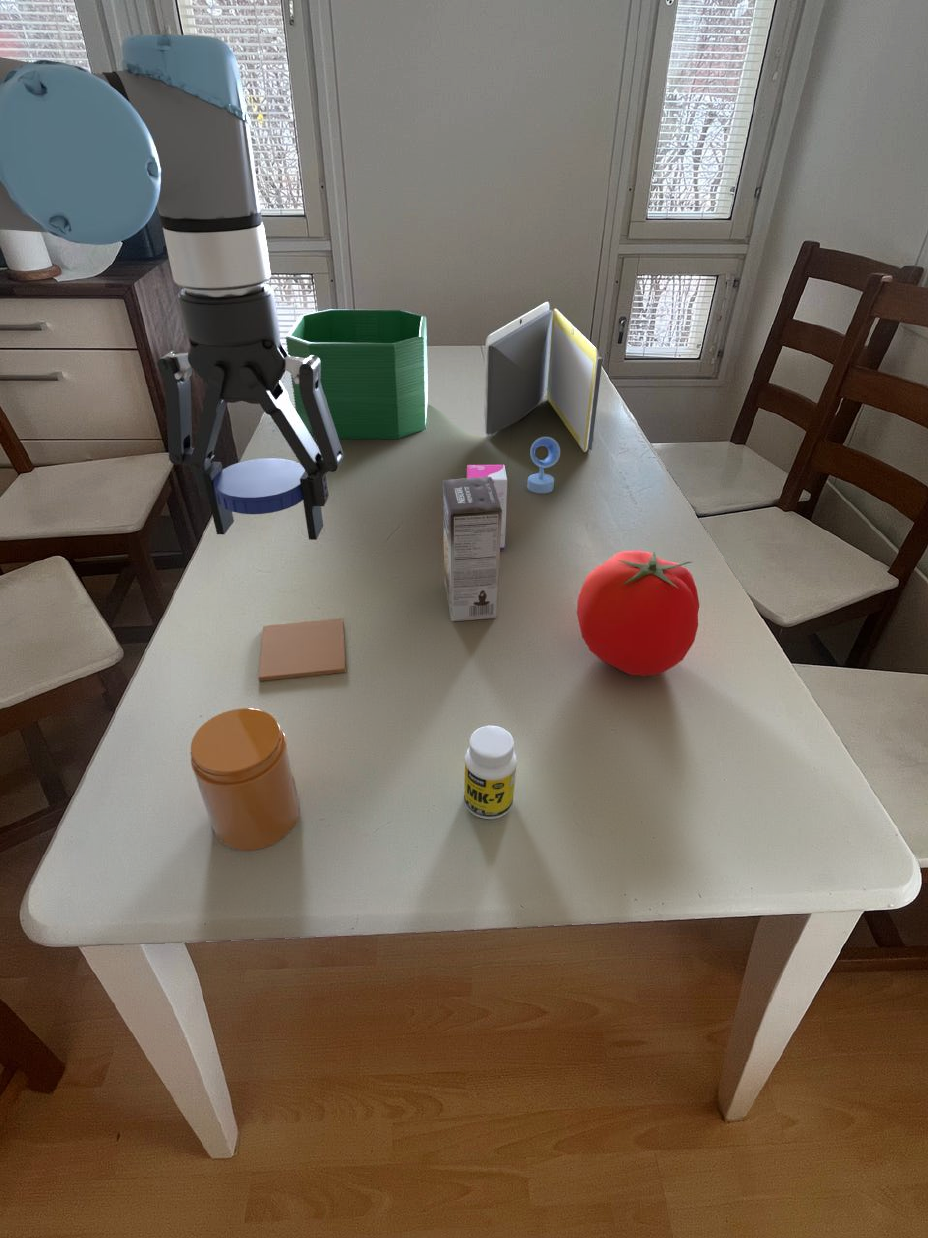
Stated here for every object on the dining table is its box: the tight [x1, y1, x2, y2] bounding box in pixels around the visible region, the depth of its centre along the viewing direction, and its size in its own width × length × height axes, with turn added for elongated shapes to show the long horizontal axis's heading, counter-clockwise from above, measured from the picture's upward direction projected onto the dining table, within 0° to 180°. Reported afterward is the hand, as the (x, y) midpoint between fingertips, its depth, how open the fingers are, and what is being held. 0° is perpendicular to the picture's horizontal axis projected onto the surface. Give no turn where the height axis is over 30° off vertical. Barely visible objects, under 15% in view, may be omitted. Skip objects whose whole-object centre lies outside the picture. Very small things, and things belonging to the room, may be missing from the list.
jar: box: [190, 707, 301, 852], centre depth 62 cm, size 8×8×10 cm
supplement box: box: [466, 464, 508, 552], centre depth 102 cm, size 6×6×12 cm
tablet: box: [483, 301, 603, 453], centre depth 139 cm, size 35×22×20 cm, turn 10°
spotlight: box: [526, 436, 561, 494], centre depth 117 cm, size 5×10×7 cm
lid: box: [213, 457, 305, 515], centre depth 66 cm, size 9×9×2 cm
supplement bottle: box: [463, 725, 517, 820], centre depth 64 cm, size 5×5×8 cm
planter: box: [285, 309, 429, 440], centre depth 141 cm, size 26×26×18 cm
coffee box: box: [442, 477, 502, 622], centre depth 88 cm, size 9×6×16 cm
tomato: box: [576, 549, 700, 677], centre depth 81 cm, size 16×14×14 cm
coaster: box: [257, 617, 347, 682], centre depth 85 cm, size 10×10×1 cm
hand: (270, 530), depth 69 cm, fingers closed on lid, 9 cm apart
